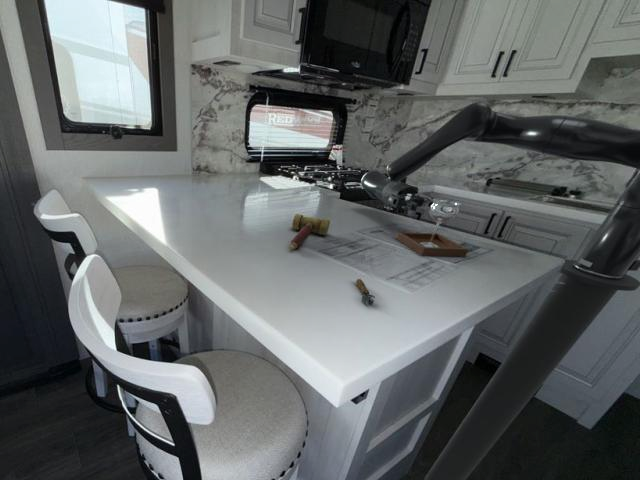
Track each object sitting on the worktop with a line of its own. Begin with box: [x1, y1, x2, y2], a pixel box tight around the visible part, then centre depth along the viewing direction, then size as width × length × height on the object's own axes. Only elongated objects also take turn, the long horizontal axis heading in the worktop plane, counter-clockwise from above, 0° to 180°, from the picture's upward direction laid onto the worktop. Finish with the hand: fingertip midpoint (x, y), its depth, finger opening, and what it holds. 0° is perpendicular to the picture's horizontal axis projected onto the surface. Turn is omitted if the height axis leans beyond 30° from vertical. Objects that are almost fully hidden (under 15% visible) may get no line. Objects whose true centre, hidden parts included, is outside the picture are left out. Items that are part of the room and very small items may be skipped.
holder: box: [396, 231, 469, 258], centre depth 86 cm, size 13×13×2 cm
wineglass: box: [420, 198, 462, 247], centre depth 83 cm, size 7×7×12 cm
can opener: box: [356, 278, 376, 306], centre depth 59 cm, size 9×2×1 cm, turn 171°
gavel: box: [290, 213, 331, 250], centre depth 84 cm, size 21×5×10 cm
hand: (430, 208), depth 85 cm, fingers open, 8 cm apart
